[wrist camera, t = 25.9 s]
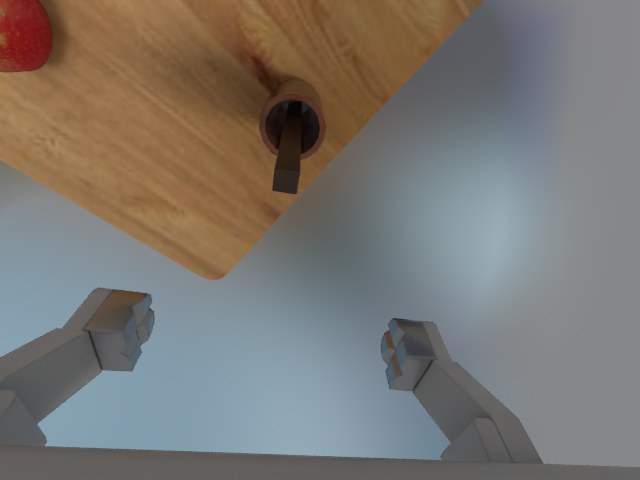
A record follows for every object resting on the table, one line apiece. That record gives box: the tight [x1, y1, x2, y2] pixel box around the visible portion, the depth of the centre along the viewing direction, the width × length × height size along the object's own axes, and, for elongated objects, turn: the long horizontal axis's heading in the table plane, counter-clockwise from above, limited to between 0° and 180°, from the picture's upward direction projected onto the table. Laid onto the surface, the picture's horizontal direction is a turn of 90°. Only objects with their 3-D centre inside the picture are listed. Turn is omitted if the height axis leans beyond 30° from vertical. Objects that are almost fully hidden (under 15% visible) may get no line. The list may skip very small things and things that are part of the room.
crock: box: [259, 78, 326, 160], centre depth 34 cm, size 6×6×10 cm
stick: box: [272, 101, 302, 194], centre depth 29 cm, size 2×2×22 cm
